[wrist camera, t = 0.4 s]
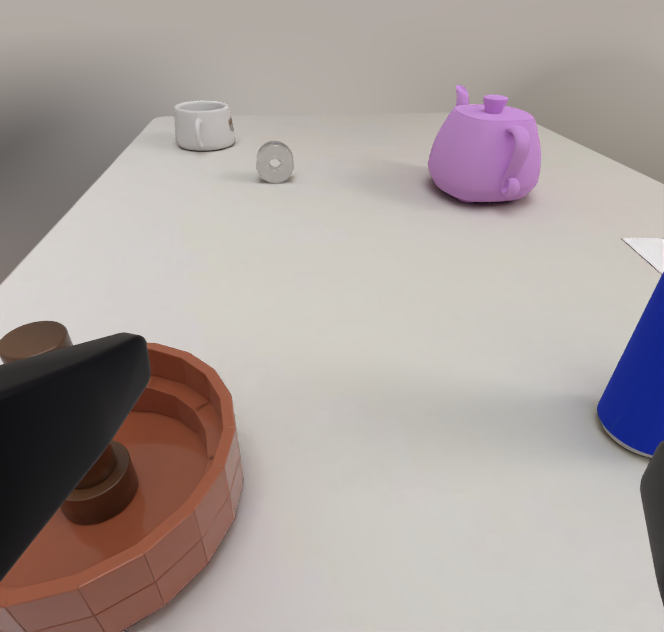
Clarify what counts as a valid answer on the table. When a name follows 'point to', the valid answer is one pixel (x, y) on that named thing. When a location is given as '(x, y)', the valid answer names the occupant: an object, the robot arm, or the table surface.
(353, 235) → the table surface
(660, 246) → the white square tile
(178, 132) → the mug
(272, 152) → the grey thick ring
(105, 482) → the grey flanged cylindrical pin
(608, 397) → the beverage can
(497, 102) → the teapot
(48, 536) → the bowl
